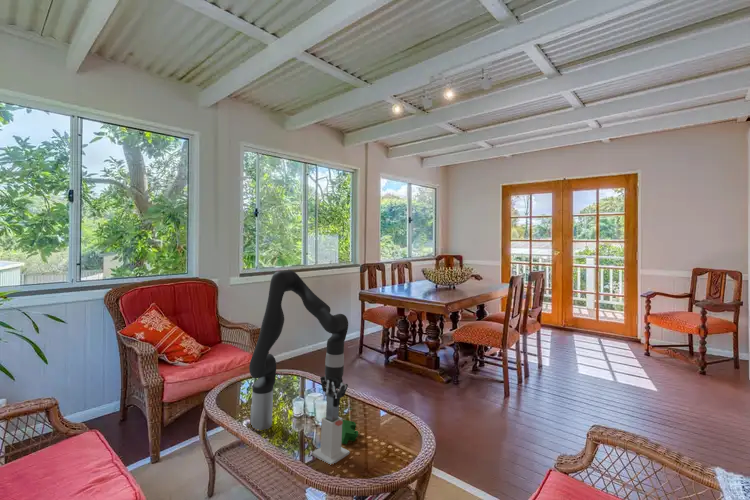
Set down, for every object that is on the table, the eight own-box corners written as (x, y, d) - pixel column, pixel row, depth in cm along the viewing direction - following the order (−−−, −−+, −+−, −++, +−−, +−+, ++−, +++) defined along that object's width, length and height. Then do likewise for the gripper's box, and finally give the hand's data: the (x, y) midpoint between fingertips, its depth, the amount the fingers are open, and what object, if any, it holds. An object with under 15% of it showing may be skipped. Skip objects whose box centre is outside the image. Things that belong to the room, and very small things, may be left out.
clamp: (352, 452, 161) (359, 438, 157) (339, 450, 160) (345, 436, 156) (351, 428, 172) (358, 415, 168) (339, 426, 170) (345, 412, 167)
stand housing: (311, 454, 150) (313, 418, 150) (330, 443, 159) (332, 409, 158) (330, 466, 144) (332, 428, 143) (349, 453, 152) (351, 418, 152)
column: (324, 440, 151) (326, 393, 150) (331, 436, 154) (333, 390, 153) (331, 444, 148) (333, 395, 148) (337, 440, 151) (339, 392, 151)
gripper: (315, 361, 151) (314, 402, 152) (341, 370, 143) (339, 413, 143) (328, 357, 157) (327, 396, 158) (353, 365, 148) (351, 407, 149)
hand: (332, 404), depth 150 cm, fingers closed on column, 3 cm apart
